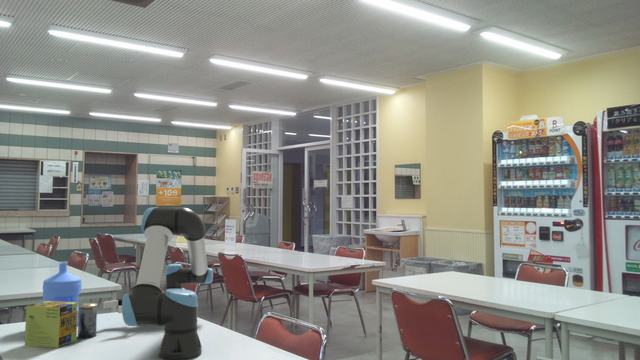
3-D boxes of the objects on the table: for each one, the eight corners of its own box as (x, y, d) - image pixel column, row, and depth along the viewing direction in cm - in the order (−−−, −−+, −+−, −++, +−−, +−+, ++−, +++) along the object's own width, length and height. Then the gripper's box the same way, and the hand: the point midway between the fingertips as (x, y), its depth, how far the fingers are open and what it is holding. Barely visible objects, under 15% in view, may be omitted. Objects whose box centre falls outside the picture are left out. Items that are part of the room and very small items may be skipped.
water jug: (32, 328, 217) (35, 264, 219) (61, 320, 232) (63, 261, 234) (61, 331, 213) (63, 266, 214) (88, 323, 228) (90, 262, 229)
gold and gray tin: (99, 336, 206) (100, 304, 207) (82, 339, 200) (82, 307, 201) (91, 333, 211) (92, 302, 211) (74, 336, 205) (75, 304, 206)
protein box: (58, 348, 188) (60, 307, 189) (24, 345, 191) (25, 305, 192) (77, 341, 199) (78, 302, 199) (44, 338, 202) (45, 300, 202)
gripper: (169, 312, 222) (124, 321, 206) (141, 304, 238) (97, 311, 222) (170, 295, 222) (125, 303, 206) (141, 288, 238) (97, 295, 222)
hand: (110, 307), depth 214 cm, fingers open, 13 cm apart
